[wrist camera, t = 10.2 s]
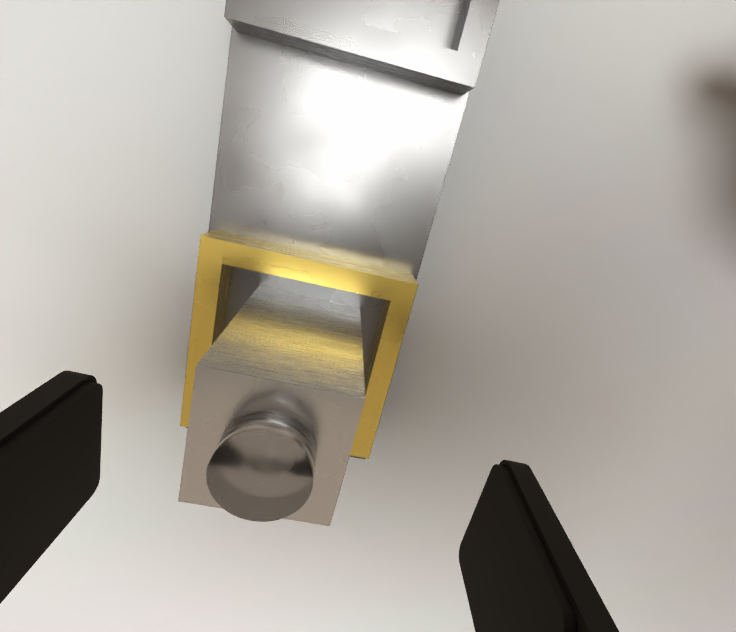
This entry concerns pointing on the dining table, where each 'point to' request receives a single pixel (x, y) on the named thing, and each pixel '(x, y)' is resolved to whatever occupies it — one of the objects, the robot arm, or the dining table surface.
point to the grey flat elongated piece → (334, 163)
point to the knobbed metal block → (276, 409)
